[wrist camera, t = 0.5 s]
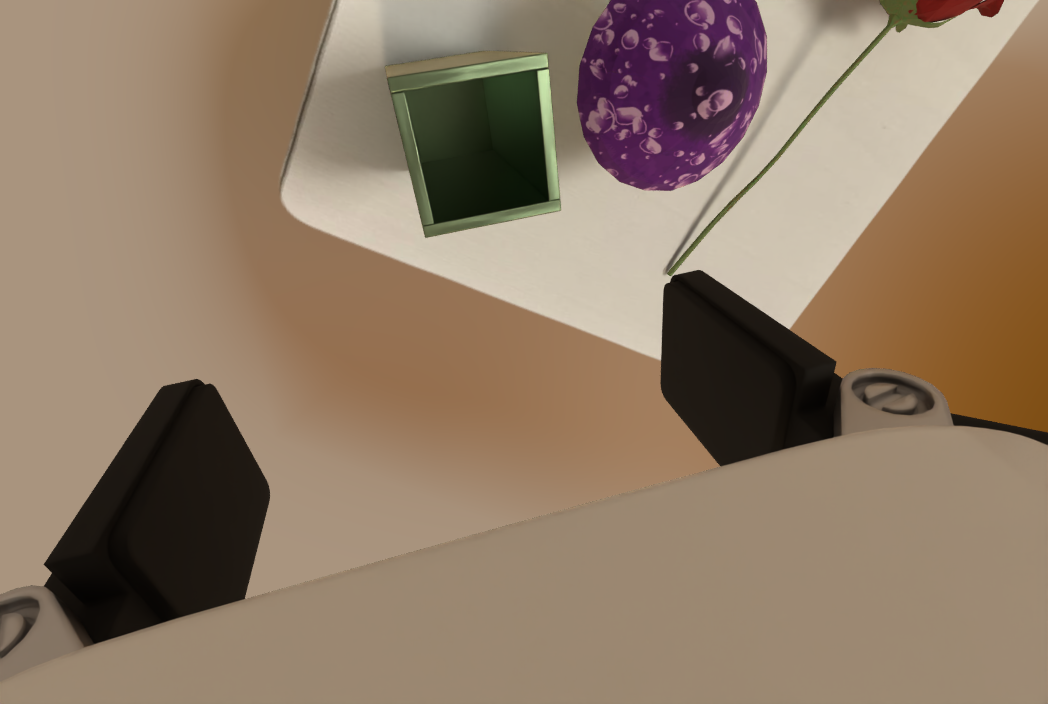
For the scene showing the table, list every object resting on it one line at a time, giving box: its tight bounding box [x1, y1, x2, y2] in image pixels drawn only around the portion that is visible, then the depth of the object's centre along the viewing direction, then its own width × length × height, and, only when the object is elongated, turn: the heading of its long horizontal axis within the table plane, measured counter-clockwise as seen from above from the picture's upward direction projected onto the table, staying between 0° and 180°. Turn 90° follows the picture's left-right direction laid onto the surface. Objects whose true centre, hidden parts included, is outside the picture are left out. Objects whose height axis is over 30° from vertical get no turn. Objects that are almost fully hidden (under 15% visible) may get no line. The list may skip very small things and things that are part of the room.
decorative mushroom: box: [577, 0, 767, 191], centre depth 32 cm, size 12×12×15 cm
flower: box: [667, 0, 1004, 276], centre depth 41 cm, size 11×10×30 cm
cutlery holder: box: [385, 51, 561, 238], centre depth 30 cm, size 7×7×16 cm
